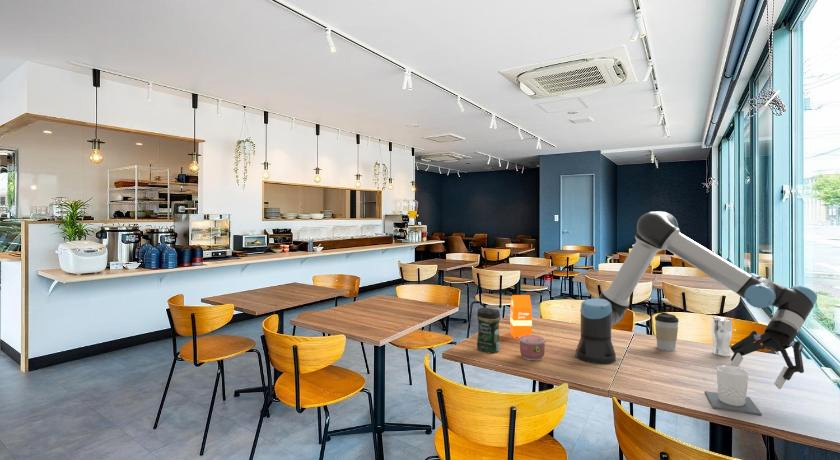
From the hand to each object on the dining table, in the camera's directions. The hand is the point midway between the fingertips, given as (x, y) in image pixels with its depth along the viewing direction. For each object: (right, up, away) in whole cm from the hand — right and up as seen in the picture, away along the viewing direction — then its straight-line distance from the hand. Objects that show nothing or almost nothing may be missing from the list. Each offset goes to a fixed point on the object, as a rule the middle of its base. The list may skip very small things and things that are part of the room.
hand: (753, 378), depth 135 cm
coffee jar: (-77, -5, +49) cm, 91 cm away
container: (-60, -6, +40) cm, 72 cm away
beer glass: (+19, -5, +42) cm, 46 cm away
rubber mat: (-9, -7, -3) cm, 12 cm away
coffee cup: (+1, -5, +50) cm, 50 cm away
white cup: (-9, -6, -3) cm, 12 cm away
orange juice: (-58, -4, +70) cm, 91 cm away
